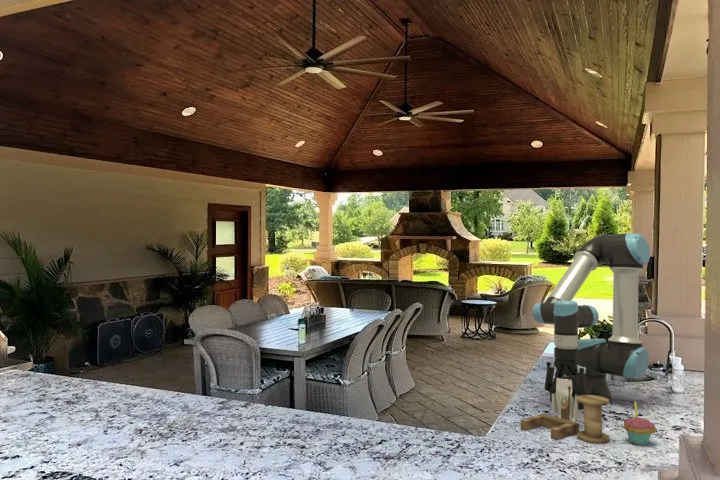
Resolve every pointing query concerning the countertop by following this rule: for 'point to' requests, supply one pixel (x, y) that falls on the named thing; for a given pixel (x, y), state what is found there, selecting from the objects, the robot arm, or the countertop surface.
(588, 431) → the bobbin
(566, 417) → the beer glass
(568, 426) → the u-shaped block
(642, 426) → the cupcake
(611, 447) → the countertop surface
